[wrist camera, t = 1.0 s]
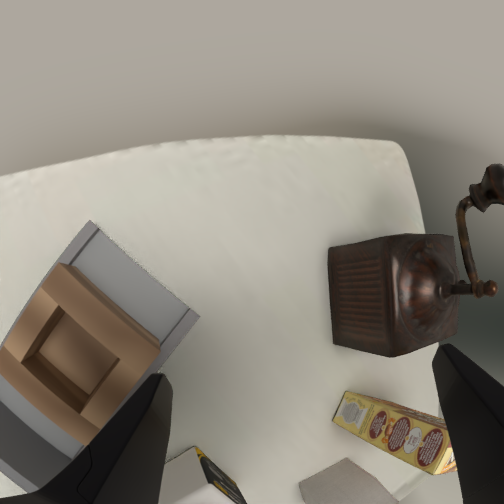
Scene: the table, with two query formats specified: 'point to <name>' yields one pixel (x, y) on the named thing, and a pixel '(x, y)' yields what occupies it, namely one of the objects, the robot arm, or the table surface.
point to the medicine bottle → (197, 482)
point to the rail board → (169, 334)
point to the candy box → (399, 431)
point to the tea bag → (344, 486)
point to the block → (76, 353)
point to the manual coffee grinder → (407, 283)
